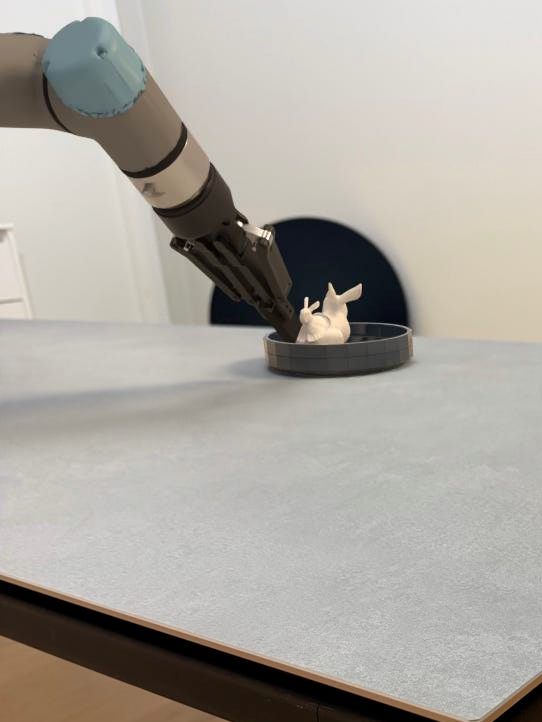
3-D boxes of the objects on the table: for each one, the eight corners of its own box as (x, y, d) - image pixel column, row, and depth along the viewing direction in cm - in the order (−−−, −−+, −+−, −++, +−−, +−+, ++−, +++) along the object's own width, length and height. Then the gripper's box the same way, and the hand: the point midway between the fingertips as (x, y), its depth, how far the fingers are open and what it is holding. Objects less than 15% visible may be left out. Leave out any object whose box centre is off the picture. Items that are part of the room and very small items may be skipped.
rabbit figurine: (341, 350, 131) (335, 276, 127) (385, 354, 127) (380, 277, 123) (281, 365, 122) (272, 285, 118) (326, 369, 118) (318, 287, 114)
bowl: (237, 373, 122) (233, 341, 120) (318, 349, 137) (315, 320, 136) (367, 382, 115) (365, 347, 113) (437, 355, 130) (436, 325, 129)
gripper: (115, 214, 96) (239, 357, 117) (220, 212, 91) (329, 362, 112) (142, 155, 98) (259, 306, 119) (246, 151, 93) (349, 309, 114)
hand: (293, 333), depth 115 cm, fingers closed
